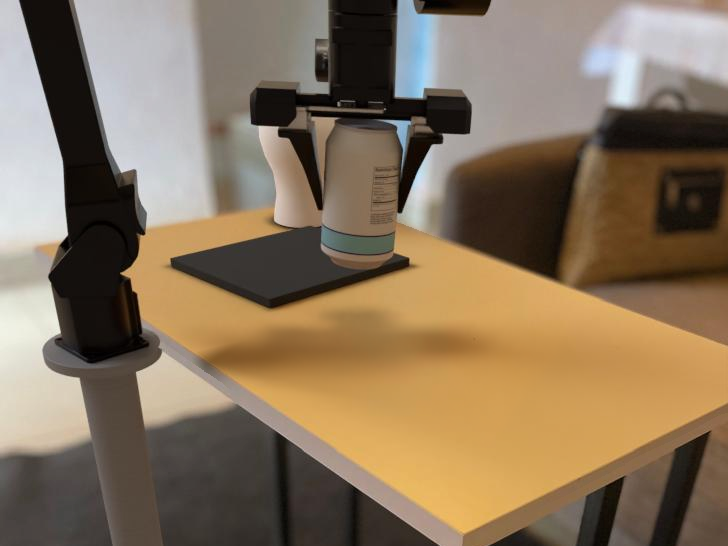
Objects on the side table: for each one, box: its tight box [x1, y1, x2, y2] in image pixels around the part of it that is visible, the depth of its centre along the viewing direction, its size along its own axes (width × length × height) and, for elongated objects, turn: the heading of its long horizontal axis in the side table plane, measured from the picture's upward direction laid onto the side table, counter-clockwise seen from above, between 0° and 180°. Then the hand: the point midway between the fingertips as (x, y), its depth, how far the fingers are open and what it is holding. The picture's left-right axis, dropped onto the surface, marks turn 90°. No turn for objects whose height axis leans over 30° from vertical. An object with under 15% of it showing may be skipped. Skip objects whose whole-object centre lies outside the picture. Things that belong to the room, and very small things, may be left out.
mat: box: [169, 226, 411, 309], centre depth 100 cm, size 22×18×1 cm
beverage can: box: [321, 118, 404, 270], centre depth 77 cm, size 7×7×12 cm
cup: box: [258, 117, 339, 229], centre depth 112 cm, size 11×11×15 cm
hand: (360, 211), depth 78 cm, fingers closed on beverage can, 7 cm apart
